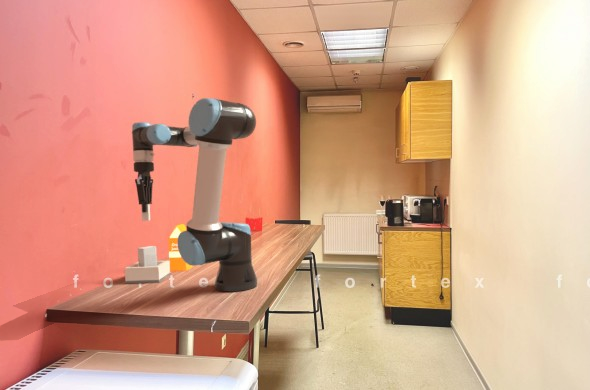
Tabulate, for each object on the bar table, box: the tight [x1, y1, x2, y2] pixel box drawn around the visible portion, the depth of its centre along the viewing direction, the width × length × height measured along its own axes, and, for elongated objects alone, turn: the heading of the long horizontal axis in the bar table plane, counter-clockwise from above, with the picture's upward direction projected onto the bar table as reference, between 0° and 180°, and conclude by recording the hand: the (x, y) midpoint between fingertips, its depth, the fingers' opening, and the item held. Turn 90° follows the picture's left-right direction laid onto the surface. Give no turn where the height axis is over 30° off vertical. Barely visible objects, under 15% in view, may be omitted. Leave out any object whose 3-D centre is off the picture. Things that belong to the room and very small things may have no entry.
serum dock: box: [124, 260, 171, 284], centre depth 156 cm, size 13×13×6 cm
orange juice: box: [168, 223, 194, 272], centre depth 174 cm, size 8×9×20 cm
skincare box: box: [137, 245, 158, 267], centre depth 155 cm, size 6×4×12 cm
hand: (146, 220), depth 155 cm, fingers closed
